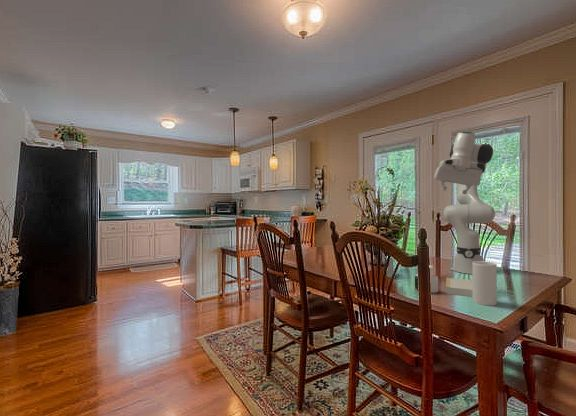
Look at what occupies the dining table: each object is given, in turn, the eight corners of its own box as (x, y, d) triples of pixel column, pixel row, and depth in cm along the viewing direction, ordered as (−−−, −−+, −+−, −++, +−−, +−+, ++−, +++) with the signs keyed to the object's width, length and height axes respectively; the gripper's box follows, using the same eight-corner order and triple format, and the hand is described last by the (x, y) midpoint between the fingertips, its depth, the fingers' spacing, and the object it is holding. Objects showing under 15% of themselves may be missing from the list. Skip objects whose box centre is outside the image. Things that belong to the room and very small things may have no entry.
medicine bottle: (414, 289, 142) (414, 264, 141) (426, 288, 144) (426, 262, 144) (425, 293, 135) (425, 267, 135) (438, 292, 137) (438, 265, 137)
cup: (468, 298, 127) (468, 260, 127) (489, 299, 127) (489, 261, 126) (479, 305, 119) (478, 265, 119) (501, 305, 118) (501, 265, 118)
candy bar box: (381, 273, 174) (381, 245, 174) (390, 273, 173) (390, 245, 173) (383, 278, 163) (383, 248, 163) (393, 278, 162) (393, 248, 162)
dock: (446, 283, 151) (446, 277, 151) (474, 286, 145) (474, 280, 145) (445, 293, 135) (445, 286, 135) (477, 297, 129) (477, 290, 129)
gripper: (480, 169, 149) (474, 196, 149) (436, 162, 153) (430, 188, 153) (485, 167, 143) (479, 195, 143) (440, 159, 147) (434, 187, 147)
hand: (454, 192), depth 148 cm, fingers open, 8 cm apart
